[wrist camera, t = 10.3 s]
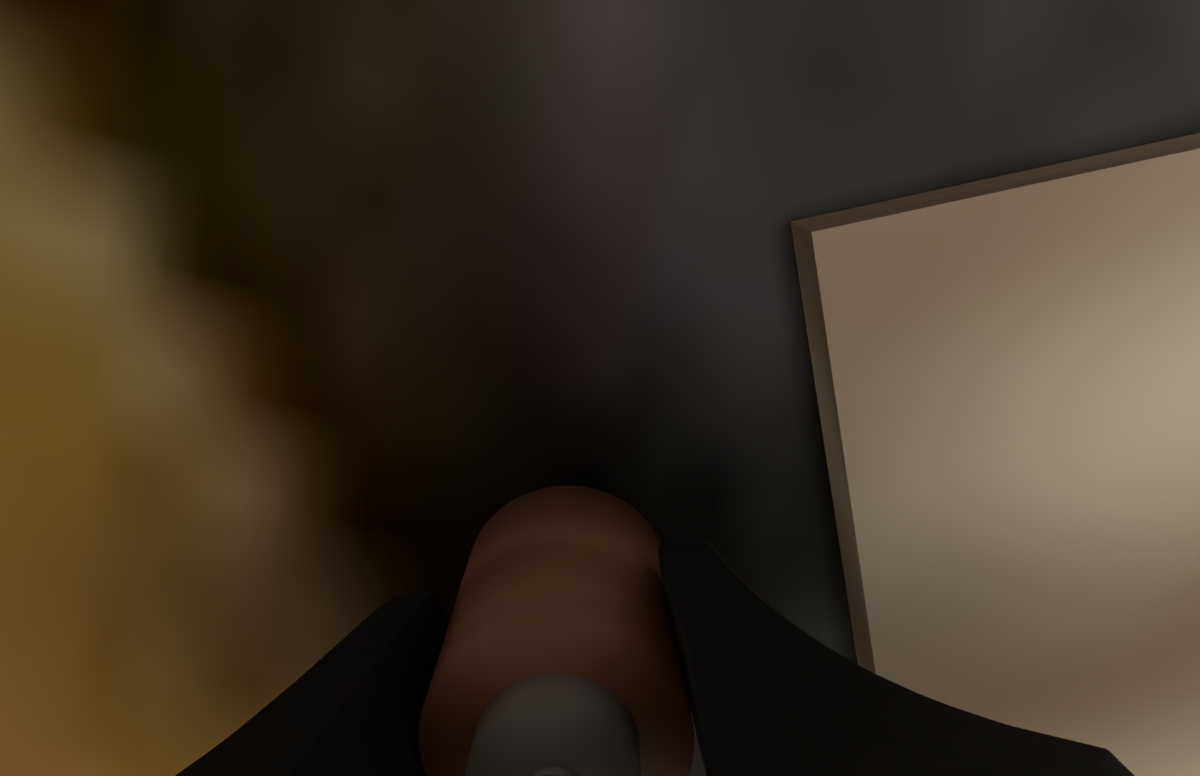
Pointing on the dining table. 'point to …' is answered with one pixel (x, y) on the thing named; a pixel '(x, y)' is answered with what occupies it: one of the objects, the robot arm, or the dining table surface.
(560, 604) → the awl
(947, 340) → the subfloor panel
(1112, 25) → the dining table surface
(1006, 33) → the dining table surface
